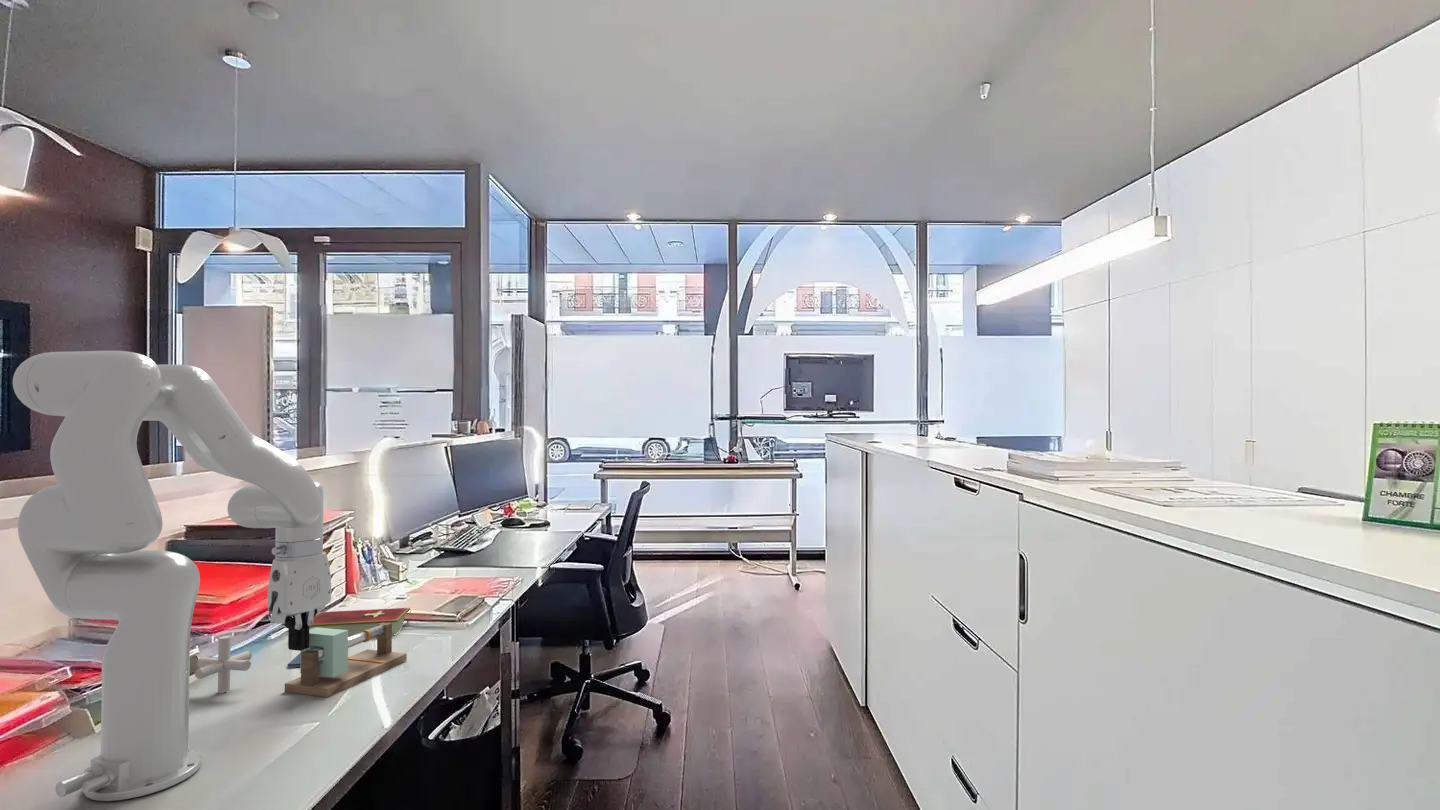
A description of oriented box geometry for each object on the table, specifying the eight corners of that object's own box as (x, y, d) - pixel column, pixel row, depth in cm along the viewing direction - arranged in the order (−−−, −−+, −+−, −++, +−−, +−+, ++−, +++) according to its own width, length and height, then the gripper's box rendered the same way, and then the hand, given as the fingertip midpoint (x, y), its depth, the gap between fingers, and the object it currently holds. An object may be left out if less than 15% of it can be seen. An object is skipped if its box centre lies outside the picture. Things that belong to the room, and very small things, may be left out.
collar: (332, 677, 127) (333, 635, 128) (300, 673, 130) (300, 632, 130) (347, 670, 131) (348, 630, 131) (315, 666, 133) (316, 627, 133)
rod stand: (327, 697, 125) (328, 654, 125) (284, 691, 128) (285, 649, 128) (406, 660, 144) (406, 623, 144) (367, 656, 147) (367, 620, 147)
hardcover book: (319, 627, 170) (319, 610, 170) (410, 622, 174) (410, 606, 174) (299, 642, 158) (299, 624, 158) (397, 637, 162) (397, 619, 162)
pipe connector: (221, 704, 122) (222, 647, 122) (175, 700, 124) (176, 644, 124) (269, 683, 132) (269, 630, 132) (225, 679, 134) (226, 627, 134)
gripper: (279, 557, 119) (278, 664, 119) (348, 542, 133) (347, 638, 133) (245, 555, 121) (245, 660, 121) (317, 541, 135) (316, 634, 135)
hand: (298, 648), depth 127 cm, fingers closed
